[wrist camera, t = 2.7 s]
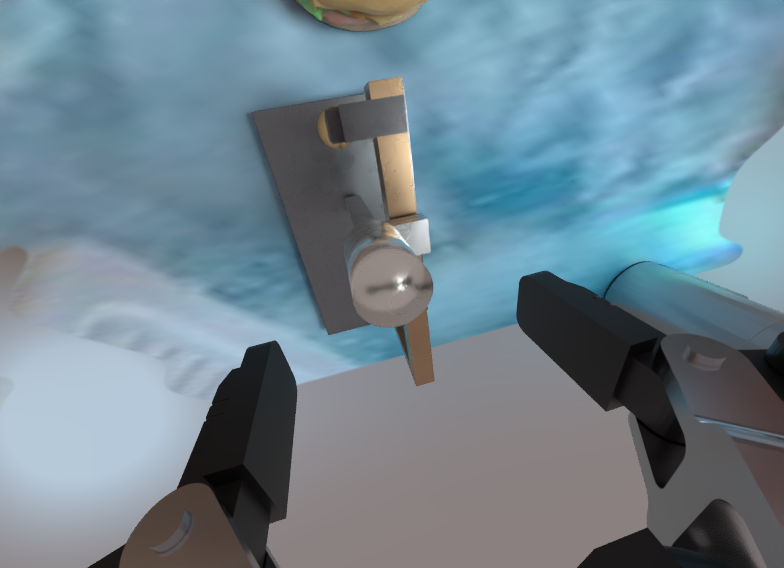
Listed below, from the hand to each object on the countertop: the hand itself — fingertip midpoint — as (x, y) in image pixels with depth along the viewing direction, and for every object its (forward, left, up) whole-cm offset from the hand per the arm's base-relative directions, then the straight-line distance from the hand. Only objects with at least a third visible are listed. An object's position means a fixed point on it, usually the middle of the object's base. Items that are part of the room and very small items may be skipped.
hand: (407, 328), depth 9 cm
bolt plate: (0, +3, -21) cm, 21 cm away
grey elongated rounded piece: (-1, 0, -19) cm, 19 cm away
